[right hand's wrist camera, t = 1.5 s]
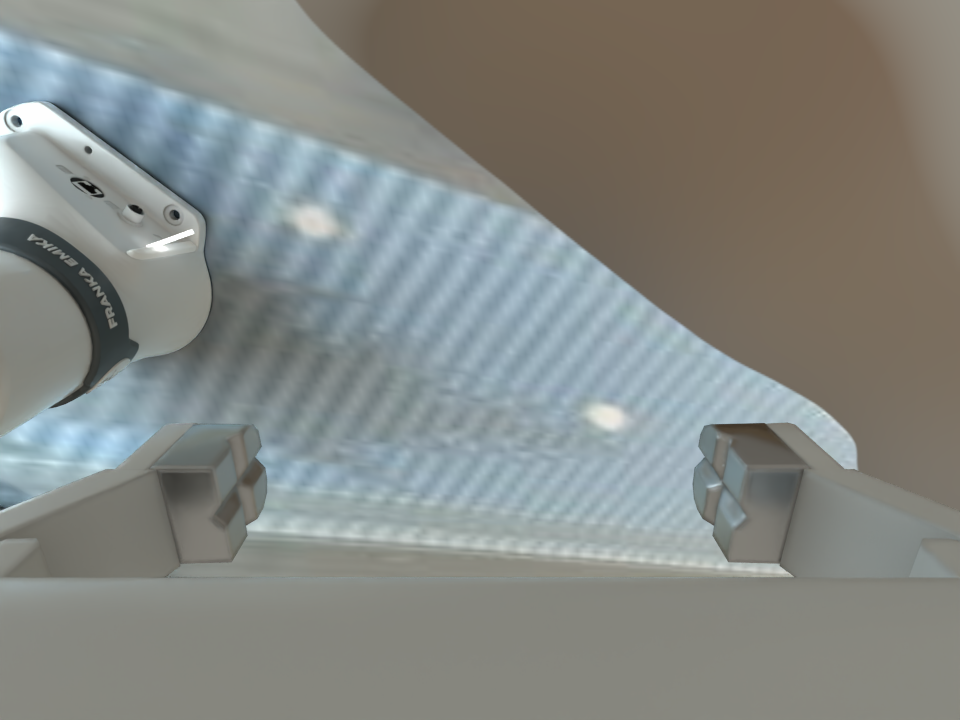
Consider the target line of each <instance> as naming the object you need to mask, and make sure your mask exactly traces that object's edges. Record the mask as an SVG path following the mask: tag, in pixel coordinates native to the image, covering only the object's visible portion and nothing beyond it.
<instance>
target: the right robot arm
mask: <svg viewBox="0 0 960 720" xmlns="http://www.w3.org/2000/svg"><path fill="white" fill-rule="evenodd" d="M18 117H20V118H21V120H22V125H20V124H19V123H18ZM174 210H176V211H178V212H179V214H180V218H179V219H177V218H176V217H175V216H174ZM205 237H206V223H205V220H204V218H203V216H202V215H201V213H200V212H198V211H197V210H196V209H195V208H193V207H192V206H191V205H189V204H188V203H187V202H185V201H184V200H182V199H181V198H180V197H178V196H177V195H176V194H174V193H173V192H172V191H170V190H169V189H168V188H166V187H165V186H163V185H162V184H161V183H159V182H158V181H157V180H155V179H154V178H153V177H151V176H150V175H149V174H147V173H146V172H144V171H143V170H142V169H140V168H139V167H138V166H136V165H135V164H134V163H132V162H131V161H130V160H128V159H127V158H125V157H124V156H123V155H121V154H120V153H119V152H117V151H116V150H115V149H113V148H112V147H111V146H109V145H108V144H107V143H105V142H104V141H102V140H101V139H100V138H98V137H97V136H96V135H94V134H93V133H92V132H90V131H89V130H88V129H86V128H85V127H83V126H82V125H81V124H79V123H78V122H77V121H75V120H74V119H73V118H71V117H70V116H69V115H67V114H66V113H64V112H63V111H62V110H60V109H59V108H57V107H56V106H54V105H53V104H51V103H49V102H47V101H37V102H28V103H22V104H19V105H16V106H13V107H10V108H8V109H6V110H4V111H2V112H1V113H0V438H1V437H2V436H4V435H6V434H7V433H9V432H11V431H12V430H14V429H16V428H17V427H19V426H20V425H22V424H24V423H25V422H27V421H29V420H30V419H32V418H33V417H35V416H37V415H38V414H40V413H42V412H43V411H45V410H46V409H49V408H54V407H58V406H61V405H64V404H66V403H68V402H70V401H72V400H74V399H76V398H78V397H80V396H81V395H83V394H85V393H86V394H88V393H89V392H91V391H93V390H94V389H96V388H98V387H99V386H101V385H102V384H104V383H106V382H107V381H109V380H110V379H112V378H113V377H114V376H116V375H117V374H119V373H120V372H121V371H123V370H124V369H125V368H126V367H127V366H128V364H130V363H132V362H135V361H138V360H141V359H144V358H147V357H153V356H161V355H166V354H169V353H172V352H175V351H177V350H179V349H181V348H183V347H185V346H186V345H187V344H189V343H190V342H191V341H192V340H193V339H194V338H195V337H196V336H197V335H198V334H199V333H200V331H201V330H202V328H203V327H204V325H205V323H206V321H207V318H208V315H209V312H210V307H211V299H212V291H211V282H210V277H209V273H208V269H207V266H206V262H205V258H204V245H205ZM261 447H262V445H261V441H260V436H259V431H258V429H257V428H256V427H255V426H254V425H253V424H198V423H174V424H165V425H164V426H163V427H162V428H161V429H160V430H159V431H158V432H156V433H155V434H154V435H153V436H152V437H151V438H150V439H149V440H147V441H146V442H145V443H144V444H143V445H142V446H141V447H140V448H138V449H137V450H136V451H135V452H134V453H133V454H132V455H131V456H129V457H128V458H127V459H126V460H125V461H124V462H123V463H122V464H120V465H119V466H118V467H117V468H116V469H105V470H103V471H100V472H98V473H95V474H93V475H90V476H88V477H85V478H82V479H80V480H77V481H75V482H72V483H70V484H67V485H64V486H62V487H59V488H57V489H54V490H52V491H49V492H47V493H44V494H41V495H39V496H36V497H34V498H31V499H29V500H26V501H24V502H21V503H18V504H16V505H13V506H11V507H8V508H6V509H3V510H1V511H0V720H960V511H959V510H957V509H954V508H952V507H949V506H946V505H944V504H941V503H939V502H936V501H934V500H931V499H929V498H926V497H923V496H921V495H918V494H916V493H913V492H911V491H908V490H906V489H903V488H900V487H898V486H895V485H893V484H890V483H888V482H885V481H883V480H880V479H878V478H875V477H872V476H870V475H867V474H865V473H862V472H860V471H857V470H855V469H844V468H843V467H842V466H841V465H840V464H838V463H837V462H836V461H835V460H834V459H833V458H832V457H831V456H830V455H828V454H827V453H826V452H825V451H824V450H823V449H822V448H821V447H819V446H818V445H817V444H816V443H815V442H814V441H813V440H812V439H810V438H809V437H808V436H807V435H806V434H805V433H804V432H803V431H801V430H800V429H799V428H798V427H797V426H796V425H794V424H790V423H770V424H765V423H753V424H711V425H706V426H704V428H703V430H702V432H701V434H700V440H699V445H698V447H699V448H700V450H701V452H702V453H703V455H704V456H705V458H704V459H703V460H702V461H701V462H700V463H699V464H698V465H697V466H696V467H695V469H694V477H693V494H694V500H695V504H696V507H697V510H698V511H699V513H700V515H701V517H702V518H703V519H704V520H706V521H707V522H709V523H711V524H712V525H714V530H713V535H712V536H713V537H714V539H715V541H716V542H717V544H718V546H719V547H720V549H721V551H722V552H723V554H724V556H725V557H726V559H727V561H728V562H741V563H778V564H780V566H781V567H782V568H783V569H785V570H786V571H788V572H789V573H790V574H792V575H793V576H794V577H166V576H167V575H169V574H170V573H171V572H173V571H174V570H175V569H177V568H178V567H180V564H181V563H218V562H232V561H233V559H234V557H235V556H236V554H237V552H238V551H239V549H240V547H241V546H242V544H243V542H244V541H245V539H246V537H247V536H248V535H247V530H246V525H248V524H249V523H251V522H253V521H254V520H256V519H257V518H258V517H259V515H260V513H261V511H262V509H263V507H264V503H265V499H266V495H267V476H266V469H265V467H264V466H263V465H262V464H261V463H260V462H259V461H258V460H257V459H256V458H255V456H256V455H257V453H258V452H259V450H260V448H261Z"/></svg>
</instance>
